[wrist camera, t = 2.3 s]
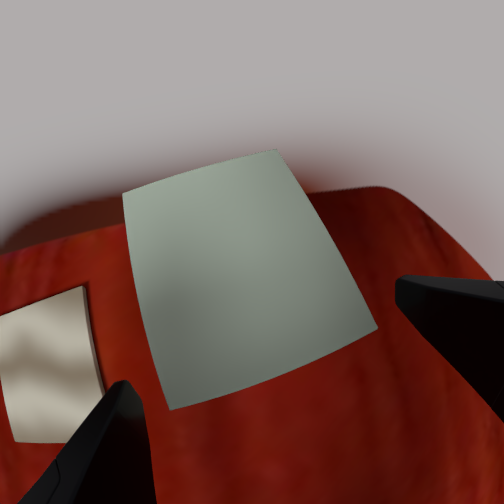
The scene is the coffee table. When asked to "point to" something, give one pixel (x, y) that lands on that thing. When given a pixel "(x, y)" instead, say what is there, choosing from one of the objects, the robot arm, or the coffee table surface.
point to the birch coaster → (49, 368)
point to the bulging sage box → (237, 278)
